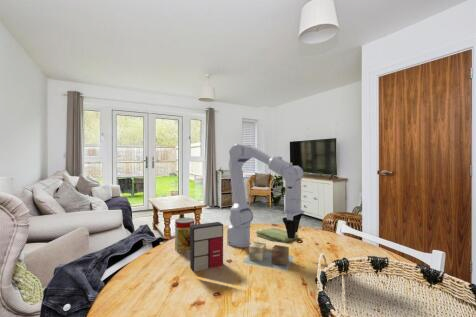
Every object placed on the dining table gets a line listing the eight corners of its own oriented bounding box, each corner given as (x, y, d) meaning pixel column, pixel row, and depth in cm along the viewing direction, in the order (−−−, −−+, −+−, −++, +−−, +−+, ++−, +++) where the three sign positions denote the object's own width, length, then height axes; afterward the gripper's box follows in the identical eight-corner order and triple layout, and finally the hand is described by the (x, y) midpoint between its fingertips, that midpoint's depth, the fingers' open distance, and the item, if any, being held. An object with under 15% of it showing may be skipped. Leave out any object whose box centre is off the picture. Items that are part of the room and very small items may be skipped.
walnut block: (271, 263, 82) (271, 249, 82) (275, 258, 87) (275, 244, 87) (285, 266, 80) (285, 251, 80) (288, 260, 85) (288, 246, 85)
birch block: (248, 259, 85) (249, 246, 85) (253, 254, 90) (253, 241, 90) (262, 262, 83) (262, 248, 83) (266, 256, 88) (266, 243, 88)
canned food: (196, 250, 97) (196, 221, 97) (177, 253, 93) (177, 223, 93) (191, 243, 104) (191, 216, 104) (173, 246, 100) (173, 218, 100)
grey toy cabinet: (193, 274, 76) (193, 228, 76) (189, 269, 80) (189, 225, 80) (224, 267, 81) (224, 224, 81) (219, 262, 85) (219, 221, 85)
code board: (242, 264, 83) (242, 262, 83) (254, 251, 95) (254, 249, 95) (286, 273, 77) (287, 270, 77) (293, 258, 89) (293, 255, 89)
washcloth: (271, 231, 124) (271, 225, 124) (299, 239, 111) (299, 232, 111) (254, 236, 116) (254, 229, 116) (283, 246, 102) (283, 238, 102)
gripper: (301, 202, 78) (301, 243, 78) (306, 196, 92) (306, 230, 92) (280, 200, 81) (280, 240, 81) (288, 195, 94) (288, 228, 94)
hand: (292, 235), depth 86 cm, fingers open, 7 cm apart
